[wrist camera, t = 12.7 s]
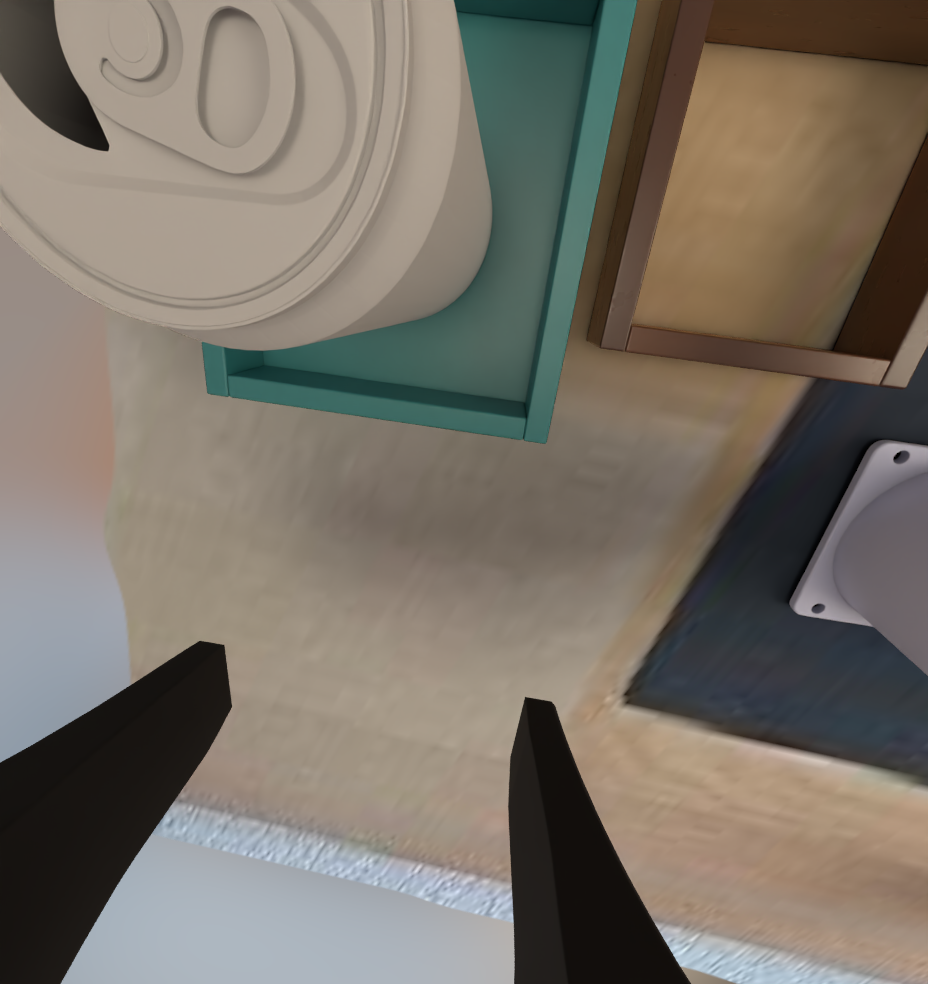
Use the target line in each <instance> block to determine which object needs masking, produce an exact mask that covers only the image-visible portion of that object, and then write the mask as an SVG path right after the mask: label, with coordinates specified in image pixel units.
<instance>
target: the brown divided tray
mask: <svg viewBox="0 0 928 984" xmlns="http://www.w3.org/2000/svg"><path fill="white" fill-rule="evenodd" d="M704 41H709V42H718V43H728V44H737V45H747V46H756V47H766V48H775V49H784V50H794V51H803V52H813V53H822V54H832V55H841V56H851V57H860V58H870V59H879V60H888V61H898V62H907V63H917V64H926V65H928V0H662V3H661V8H660V12H659V17H658V21H657V26H656V30H655V35H654V39H653V44H652V48H651V53H650V57H649V62H648V66H647V71H646V75H645V80H644V84H643V89H642V93H641V98H640V102H639V107H638V111H637V116H636V120H635V125H634V129H633V134H632V138H631V143H630V147H629V152H628V156H627V161H626V165H625V170H624V174H623V179H622V183H621V188H620V192H619V197H618V201H617V206H616V210H615V215H614V219H613V224H612V228H611V233H610V237H609V242H608V246H607V251H606V255H605V260H604V264H603V269H602V273H601V278H600V282H599V287H598V291H597V296H596V300H595V305H594V309H593V314H592V318H591V323H590V327H589V332H588V336H587V341H589V342H590V343H592V344H594V345H596V346H598V347H599V348H602V349H609V350H617V351H626V352H631V353H639V354H646V355H653V356H661V357H668V358H675V359H682V360H690V361H697V362H704V363H712V364H719V365H726V366H733V367H741V368H748V369H755V370H763V371H770V372H777V373H784V374H792V375H799V376H806V377H814V378H821V379H828V380H835V381H843V382H850V383H857V384H865V385H872V386H880V387H887V388H894V389H905V388H906V387H907V385H908V383H909V381H910V379H911V377H912V376H913V374H914V372H915V370H916V368H917V366H918V364H919V362H920V360H921V358H922V356H923V354H924V352H925V350H926V349H927V347H928V136H927V138H926V140H925V143H924V145H923V147H922V150H921V152H920V154H919V156H918V159H917V161H916V163H915V166H914V168H913V170H912V172H911V175H910V177H909V179H908V181H907V184H906V186H905V188H904V191H903V193H902V195H901V197H900V200H899V202H898V204H897V206H896V209H895V211H894V213H893V216H892V218H891V220H890V222H889V225H888V227H887V229H886V232H885V234H884V236H883V238H882V241H881V243H880V245H879V247H878V250H877V252H876V254H875V257H874V259H873V261H872V263H871V266H870V268H869V270H868V272H867V275H866V277H865V279H864V282H863V284H862V286H861V288H860V291H859V293H858V295H857V298H856V300H855V302H854V304H853V307H852V309H851V311H850V313H849V316H848V318H847V320H846V323H845V325H844V327H843V329H842V332H841V334H840V336H839V338H838V341H837V343H836V345H835V348H834V350H833V351H832V350H825V349H818V348H810V347H803V346H795V345H788V344H780V343H773V342H765V341H758V340H751V339H743V338H736V337H728V336H721V335H713V334H706V333H698V332H691V331H684V330H676V329H669V328H661V327H654V326H646V325H639V324H632V320H633V316H634V313H635V309H636V305H637V301H638V297H639V293H640V289H641V285H642V281H643V278H644V274H645V270H646V266H647V262H648V258H649V254H650V250H651V246H652V243H653V239H654V235H655V231H656V227H657V223H658V219H659V215H660V212H661V208H662V204H663V200H664V196H665V192H666V188H667V184H668V180H669V177H670V173H671V169H672V165H673V161H674V157H675V153H676V149H677V145H678V142H679V138H680V134H681V130H682V126H683V122H684V118H685V114H686V111H687V107H688V103H689V99H690V95H691V91H692V87H693V83H694V79H695V76H696V72H697V68H698V64H699V60H700V56H701V52H702V48H703V44H704Z"/></svg>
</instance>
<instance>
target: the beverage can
mask: <svg viewBox="0 0 928 984" xmlns="http://www.w3.org/2000/svg"><path fill="white" fill-rule="evenodd" d="M0 227H1V228H2V229H3V230H4V231H5V232H6V233H7V234H8V235H9V236H10V237H11V238H12V239H13V240H14V241H15V242H16V243H17V244H18V245H19V246H20V247H21V248H22V249H23V250H24V251H25V252H27V253H28V254H29V255H30V256H31V257H32V258H33V259H34V260H36V261H37V262H38V263H39V264H40V265H41V266H42V267H44V268H45V269H46V270H48V271H49V272H50V273H52V274H53V275H54V276H56V277H57V278H59V279H60V280H61V281H63V282H64V283H66V284H67V285H68V286H70V287H71V288H73V289H74V290H76V291H77V292H79V293H81V294H82V295H84V296H86V297H88V298H90V299H92V300H93V301H95V302H97V303H99V304H101V305H103V306H105V307H107V308H109V309H111V310H113V311H115V312H118V313H120V314H123V315H126V316H129V317H132V318H134V319H138V320H141V321H144V322H148V323H151V324H155V325H160V326H165V327H167V328H168V329H170V330H172V331H174V332H177V333H179V334H181V335H184V336H187V337H190V338H193V339H195V340H199V341H202V342H205V343H209V344H212V345H217V346H222V347H226V348H232V349H241V350H261V351H266V350H279V349H286V348H292V347H298V346H302V345H307V344H311V343H316V342H320V341H325V340H329V339H334V338H338V337H342V336H347V335H351V334H356V333H360V332H365V331H369V330H374V329H378V328H383V327H387V326H392V325H396V324H400V323H405V322H409V321H414V320H418V319H422V318H425V317H428V316H431V315H433V314H435V313H437V312H439V311H441V310H443V309H444V308H446V307H448V306H449V305H450V304H451V303H453V302H454V301H455V300H456V299H457V298H458V297H460V296H461V295H462V293H463V292H464V291H465V290H466V289H467V288H468V287H469V285H470V284H471V282H472V281H473V279H474V278H475V276H476V275H477V273H478V271H479V269H480V267H481V265H482V263H483V260H484V258H485V255H486V251H487V248H488V245H489V241H490V235H491V228H492V198H491V190H490V185H489V180H488V175H487V169H486V164H485V159H484V154H483V149H482V143H481V138H480V133H479V128H478V123H477V117H476V112H475V107H474V102H473V97H472V91H471V86H470V81H469V76H468V71H467V65H466V60H465V55H464V50H463V45H462V39H461V34H460V29H459V24H458V19H457V13H456V8H455V3H454V0H0Z"/></svg>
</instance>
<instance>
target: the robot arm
mask: <svg viewBox="0 0 928 984" xmlns="http://www.w3.org/2000/svg"><path fill="white" fill-rule="evenodd" d="M900 451H901V455H900V456H899V457H898V458H897V459H895V460H893V458H894V456H895V455H896V453H898V452H900ZM789 604H790V607H791V608H792V609H793V610H794V611H795V612H796V613H797V614H799V615H804V616H810V617H816V618H822V619H829V620H835V621H841V622H847V623H853V624H860V625H866V626H872V627H875V628H876V629H877V630H878V631H879V632H880V633H881V634H882V635H883V636H885V637H886V638H887V639H888V640H889V641H890V642H891V643H892V644H893V645H894V646H896V647H897V648H898V649H899V650H900V651H901V652H902V653H903V654H904V655H905V656H907V657H908V658H909V659H910V660H911V661H912V662H913V663H914V664H915V665H917V666H918V667H919V668H920V669H921V670H922V671H923V672H924V673H925V674H926V675H928V446H927V445H920V444H913V443H906V442H899V441H892V440H880V441H877V442H875V443H874V444H872V445H871V446H870V447H869V448H868V450H867V451H866V453H865V455H864V457H863V459H862V461H861V463H860V465H859V467H858V469H857V471H856V473H855V475H854V477H853V479H852V481H851V483H850V485H849V486H848V488H847V490H846V492H845V494H844V496H843V498H842V500H841V502H840V504H839V506H838V508H837V510H836V512H835V514H834V516H833V518H832V520H831V522H830V523H829V525H828V527H827V529H826V531H825V533H824V535H823V537H822V539H821V541H820V543H819V545H818V547H817V549H816V551H815V553H814V555H813V557H812V558H811V560H810V562H809V564H808V566H807V568H806V570H805V572H804V574H803V576H802V578H801V580H800V582H799V584H798V586H797V588H796V590H795V592H794V594H793V595H792V597H791V599H790V603H789ZM816 604H818V605H817V606H816V607H814V608H812V607H813V606H814V605H816ZM231 708H232V703H231V695H230V687H229V679H228V671H227V663H226V655H225V647H224V645H221V644H215V643H209V642H204V641H199V642H197V643H196V644H194V645H192V646H191V647H189V648H188V649H186V650H184V651H183V652H181V653H180V654H178V655H177V656H175V657H174V658H172V659H170V660H169V661H167V662H166V663H164V664H163V665H161V666H160V667H158V668H157V669H155V670H154V671H152V672H151V673H149V674H147V675H146V676H144V677H143V678H141V679H140V680H138V681H137V682H135V683H133V684H132V685H130V686H129V687H127V688H126V689H124V690H122V691H121V692H119V693H118V694H116V695H115V696H113V697H111V698H110V699H108V700H107V701H105V702H103V703H102V704H100V705H99V706H97V707H96V708H94V709H92V710H91V711H89V712H87V713H86V714H84V715H82V716H80V717H79V718H77V719H75V720H74V721H72V722H71V723H69V724H67V725H65V726H64V727H62V728H60V729H59V730H57V731H55V732H53V733H52V734H50V735H48V736H47V737H45V738H43V739H42V740H40V741H38V742H37V743H35V744H33V745H31V746H30V747H28V748H26V749H24V750H22V751H21V752H19V753H17V754H15V755H13V756H12V757H10V758H8V759H6V760H4V761H2V762H1V763H0V984H61V982H62V980H63V978H64V976H65V975H66V973H67V971H68V969H69V967H70V966H71V964H72V962H73V960H74V959H75V957H76V955H77V953H78V952H79V950H80V948H81V946H82V944H83V943H84V941H85V939H86V938H87V936H88V934H89V932H90V931H91V929H92V927H93V926H94V923H95V922H96V921H97V919H98V917H99V915H100V914H101V912H102V910H103V909H104V907H105V905H106V903H107V902H108V900H109V898H110V897H111V895H112V893H113V891H114V890H115V888H116V886H117V885H118V883H119V882H120V880H121V878H122V877H123V875H124V874H125V872H126V871H127V869H128V868H129V866H130V865H131V863H132V861H133V860H134V858H135V857H136V855H137V854H138V853H139V851H140V850H141V848H142V847H143V845H144V844H145V842H146V841H147V840H148V838H149V836H150V835H151V834H152V832H153V831H154V829H155V828H156V827H157V825H158V824H159V822H160V821H161V819H162V818H163V816H164V815H165V814H166V812H167V811H168V809H169V808H170V806H171V805H172V803H173V802H174V801H175V799H176V798H177V796H178V795H179V793H180V792H181V790H182V789H183V787H184V786H185V785H186V783H187V782H188V780H189V779H190V777H191V776H192V774H193V773H194V771H195V770H196V768H197V767H198V765H199V764H200V763H201V761H202V760H203V758H204V757H205V755H206V754H207V752H208V750H209V749H210V747H211V745H212V743H213V741H214V740H215V738H216V736H217V734H218V732H219V731H220V729H221V727H222V725H223V723H224V721H225V719H226V717H227V715H228V713H229V712H230V710H231ZM508 809H509V833H510V855H511V876H512V896H513V917H514V947H515V948H514V949H515V976H514V984H691V983H690V981H689V980H688V978H687V977H686V975H685V974H684V972H683V970H682V969H681V967H680V966H679V964H678V962H677V961H676V959H675V957H674V956H673V954H672V952H671V951H670V949H669V947H668V945H667V944H666V942H665V940H664V939H663V937H662V935H661V934H660V932H659V930H658V929H657V927H656V925H655V923H654V922H653V920H652V918H651V916H650V915H649V913H648V911H647V909H646V907H645V906H644V904H643V902H642V900H641V899H640V897H639V895H638V893H637V891H636V890H635V888H634V886H633V884H632V882H631V880H630V878H629V876H628V875H627V873H626V871H625V869H624V867H623V865H622V863H621V861H620V859H619V857H618V855H617V853H616V851H615V849H614V847H613V845H612V843H611V841H610V839H609V837H608V835H607V833H606V831H605V829H604V827H603V825H602V822H601V820H600V818H599V816H598V814H597V812H596V810H595V807H594V805H593V803H592V800H591V798H590V796H589V794H588V791H587V789H586V787H585V785H584V782H583V780H582V778H581V775H580V773H579V771H578V768H577V766H576V763H575V761H574V758H573V756H572V753H571V750H570V748H569V745H568V743H567V740H566V737H565V734H564V732H563V729H562V726H561V723H560V720H559V717H558V714H557V711H556V707H555V705H554V704H553V703H552V702H550V701H545V700H539V699H533V698H527V697H525V700H524V704H523V708H522V712H521V716H520V720H519V724H518V729H517V733H516V737H515V741H514V745H513V749H512V753H511V759H510V780H509V804H508Z"/></svg>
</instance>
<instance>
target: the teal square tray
mask: <svg viewBox="0 0 928 984" xmlns="http://www.w3.org/2000/svg"><path fill="white" fill-rule="evenodd" d="M454 3H455V8H456V13H457V19H458V24H459V29H460V34H461V39H462V45H463V50H464V55H465V60H466V65H467V71H468V76H469V81H470V86H471V91H472V97H473V102H474V107H475V112H476V117H477V123H478V128H479V133H480V138H481V143H482V149H483V154H484V159H485V164H486V169H487V175H488V180H489V185H490V190H491V198H492V228H491V235H490V241H489V245H488V248H487V251H486V255H485V258H484V260H483V263H482V265H481V267H480V269H479V271H478V273H477V275H476V276H475V278H474V279H473V281H472V282H471V284H470V285H469V287H468V288H467V289H466V290H465V291H464V292H463V293H462V295H461V296H460V297H458V298H457V299H456V300H455V301H454V302H453V303H451V304H450V305H449V306H448V307H446V308H444V309H443V310H441V311H439V312H437V313H435V314H433V315H431V316H428V317H425V318H422V319H418V320H414V321H409V322H405V323H400V324H396V325H392V326H387V327H383V328H378V329H374V330H369V331H365V332H360V333H356V334H351V335H347V336H342V337H338V338H334V339H329V340H325V341H320V342H316V343H311V344H307V345H302V346H298V347H292V348H286V349H279V350H266V351H261V350H241V349H232V348H226V347H222V346H217V345H212V344H209V343H205V342H202V349H203V358H204V367H205V376H206V385H207V393H208V394H211V395H218V396H225V397H229V396H230V397H232V398H239V399H246V400H253V401H260V402H266V403H273V404H280V405H287V406H294V407H300V408H307V409H314V410H321V411H327V412H334V413H341V414H348V415H355V416H361V417H368V418H375V419H382V420H389V421H395V422H402V423H409V424H416V425H422V426H429V427H436V428H443V429H450V430H456V431H463V432H470V433H477V434H483V435H490V436H497V437H504V438H511V439H517V440H522V439H524V441H529V442H536V443H543V444H546V442H547V438H548V433H549V428H550V423H551V418H552V413H553V409H554V404H555V399H556V394H557V389H558V384H559V379H560V375H561V370H562V365H563V360H564V355H565V350H566V345H567V341H568V336H569V331H570V326H571V321H572V316H573V311H574V306H575V302H576V297H577V292H578V287H579V282H580V277H581V272H582V268H583V263H584V258H585V253H586V248H587V243H588V238H589V234H590V229H591V224H592V219H593V214H594V209H595V204H596V200H597V195H598V190H599V185H600V180H601V175H602V170H603V165H604V161H605V156H606V151H607V146H608V141H609V136H610V131H611V127H612V122H613V117H614V112H615V107H616V102H617V97H618V93H619V88H620V83H621V78H622V73H623V68H624V63H625V59H626V54H627V49H628V44H629V39H630V34H631V29H632V24H633V20H634V15H635V10H636V5H637V0H454Z"/></svg>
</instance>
